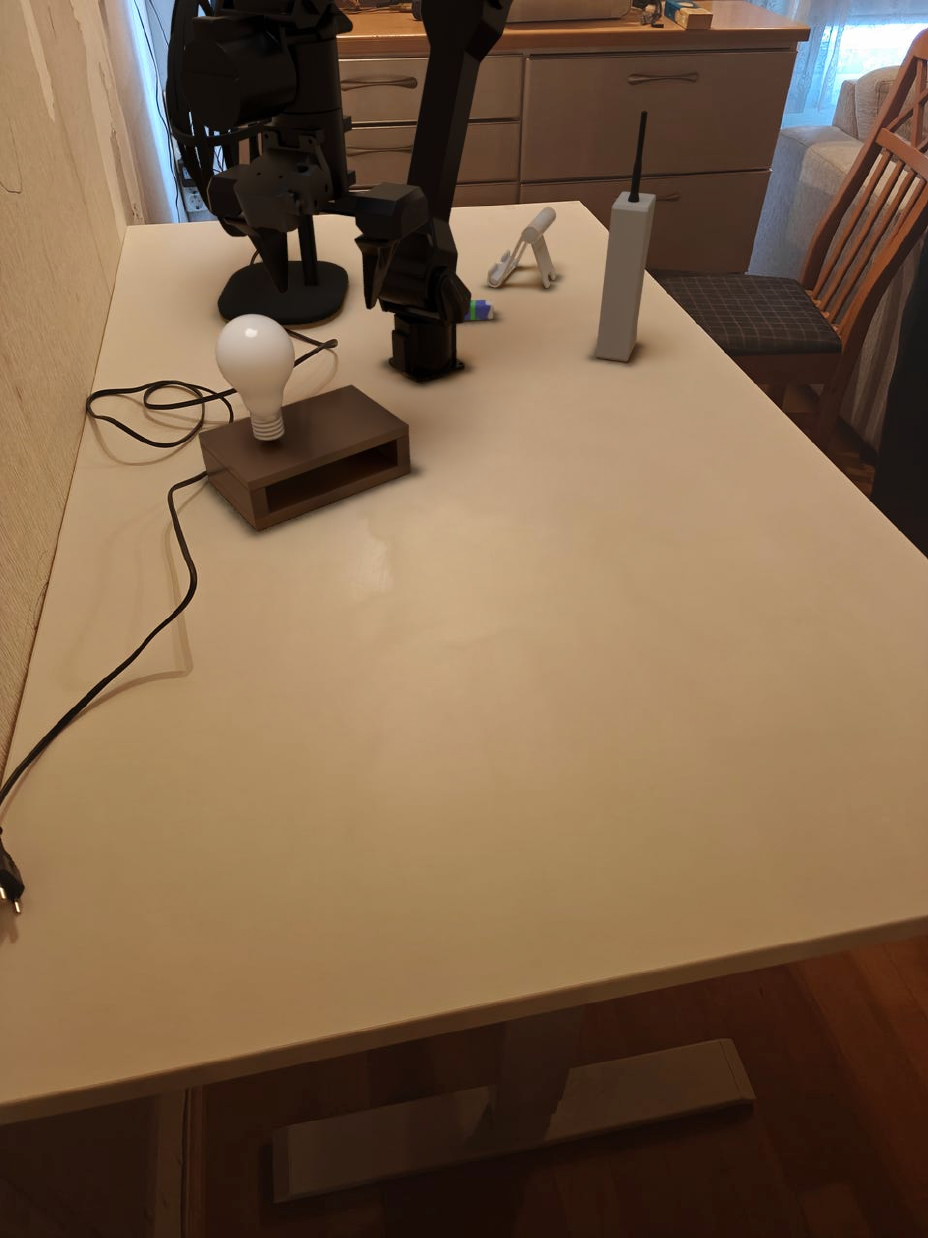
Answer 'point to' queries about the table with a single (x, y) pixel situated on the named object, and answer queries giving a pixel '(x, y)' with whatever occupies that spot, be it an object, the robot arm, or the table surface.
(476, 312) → the eraser
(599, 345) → the vintage mobile phone
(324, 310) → the desk fan
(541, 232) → the tablet stand
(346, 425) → the shelf
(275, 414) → the lightbulb
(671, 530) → the table surface
